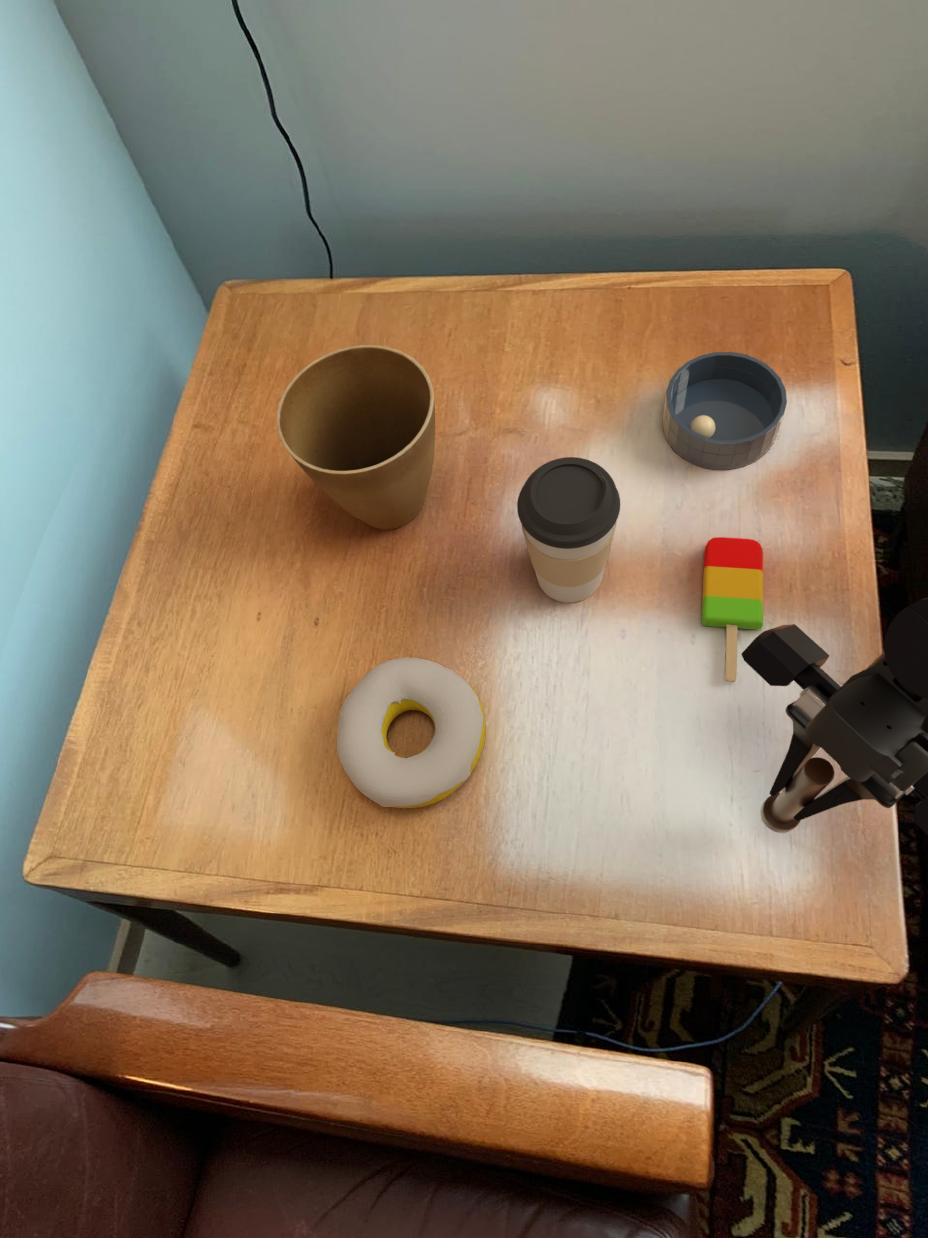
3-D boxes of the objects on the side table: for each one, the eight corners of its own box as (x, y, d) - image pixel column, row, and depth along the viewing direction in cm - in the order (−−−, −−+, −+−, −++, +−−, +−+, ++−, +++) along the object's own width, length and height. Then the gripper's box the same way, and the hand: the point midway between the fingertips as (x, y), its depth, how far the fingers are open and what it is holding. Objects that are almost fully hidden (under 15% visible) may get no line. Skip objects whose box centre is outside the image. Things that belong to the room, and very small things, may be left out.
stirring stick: (777, 789, 71) (816, 741, 60) (806, 816, 70) (852, 772, 59) (752, 813, 71) (786, 769, 59) (781, 841, 70) (822, 802, 58)
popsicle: (760, 547, 86) (764, 537, 85) (760, 687, 80) (764, 680, 78) (703, 543, 87) (705, 534, 86) (698, 682, 81) (701, 675, 79)
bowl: (715, 362, 97) (721, 333, 93) (801, 423, 92) (811, 394, 88) (639, 424, 94) (642, 397, 90) (723, 489, 90) (730, 464, 86)
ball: (700, 421, 93) (703, 405, 90) (718, 435, 92) (722, 419, 89) (683, 435, 92) (685, 420, 90) (701, 449, 91) (704, 434, 89)
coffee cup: (516, 604, 87) (505, 525, 73) (535, 528, 90) (527, 439, 77) (606, 619, 85) (611, 540, 71) (621, 540, 88) (629, 451, 75)
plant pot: (411, 424, 98) (382, 319, 84) (482, 512, 92) (464, 416, 78) (298, 490, 96) (248, 394, 82) (363, 586, 90) (322, 500, 76)
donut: (444, 840, 77) (436, 828, 73) (315, 777, 81) (300, 762, 77) (511, 705, 82) (507, 686, 78) (386, 652, 86) (376, 630, 82)
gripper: (789, 573, 54) (645, 736, 62) (1053, 803, 47) (850, 956, 54) (844, 562, 63) (711, 707, 71) (1075, 755, 55) (896, 893, 63)
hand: (784, 806), depth 64 cm, fingers closed on stirring stick, 2 cm apart
